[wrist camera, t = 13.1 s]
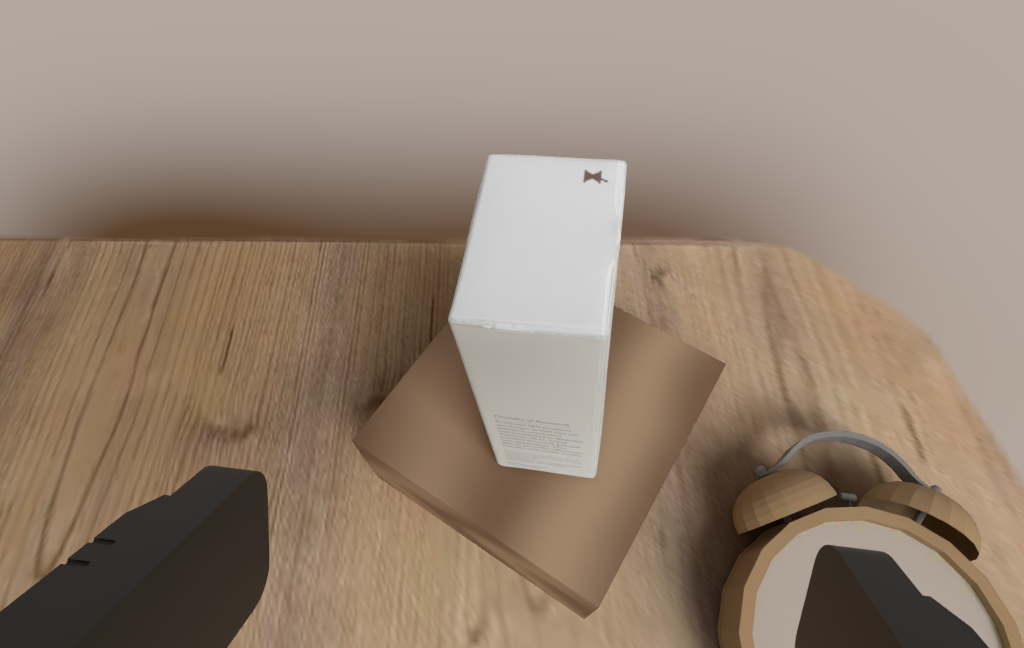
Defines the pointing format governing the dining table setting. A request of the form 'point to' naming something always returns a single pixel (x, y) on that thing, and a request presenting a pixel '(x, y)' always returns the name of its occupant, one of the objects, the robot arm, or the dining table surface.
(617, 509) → the walnut block
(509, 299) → the skincare box
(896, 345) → the dining table surface
